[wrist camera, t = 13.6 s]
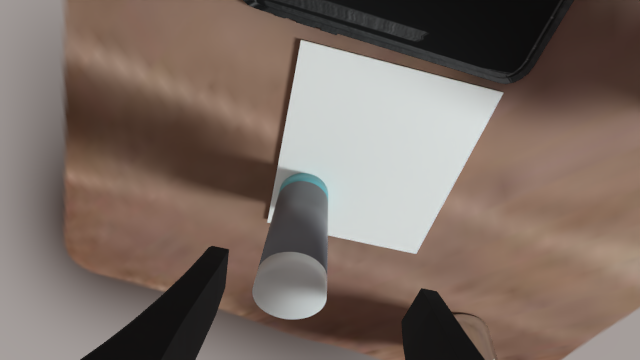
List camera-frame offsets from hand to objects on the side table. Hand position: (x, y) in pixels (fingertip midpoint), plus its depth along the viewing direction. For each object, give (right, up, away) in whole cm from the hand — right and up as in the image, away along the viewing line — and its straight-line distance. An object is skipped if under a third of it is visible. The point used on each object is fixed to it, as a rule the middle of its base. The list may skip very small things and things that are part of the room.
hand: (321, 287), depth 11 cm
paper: (+3, +5, +8) cm, 10 cm away
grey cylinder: (-1, +3, +9) cm, 9 cm away
